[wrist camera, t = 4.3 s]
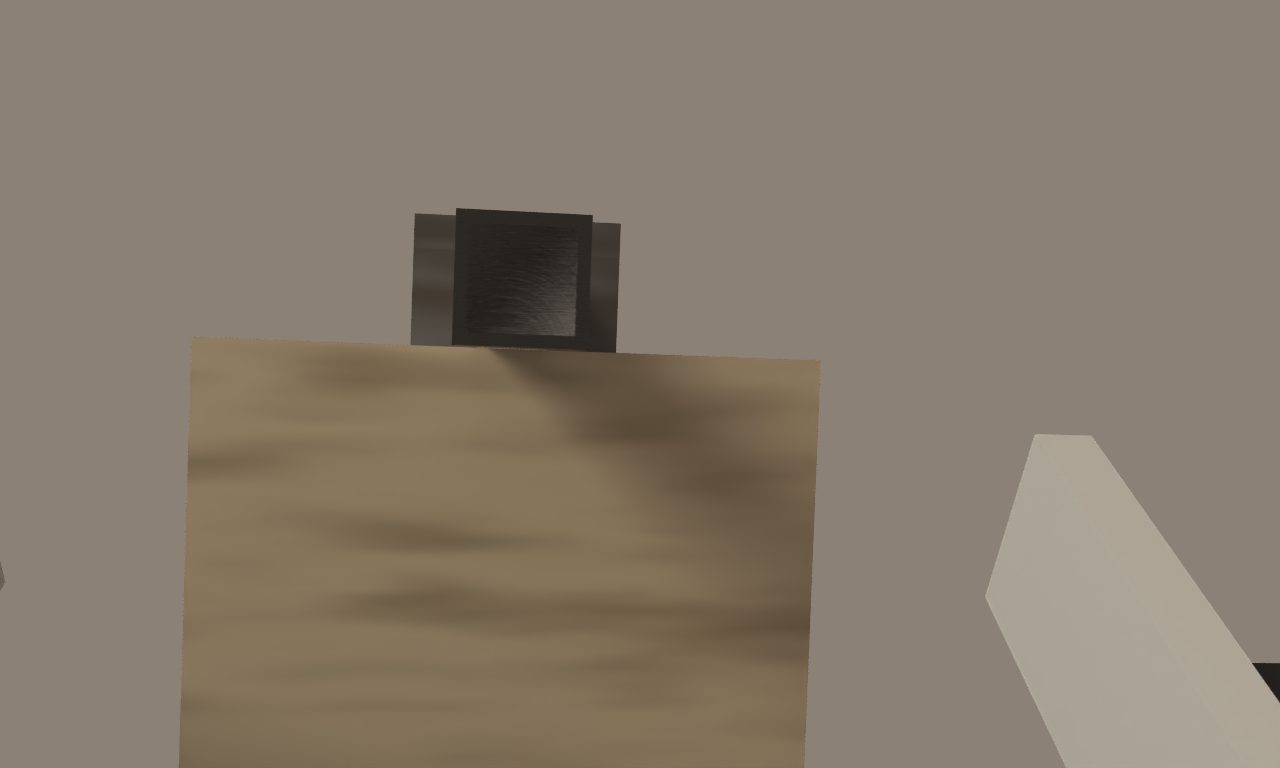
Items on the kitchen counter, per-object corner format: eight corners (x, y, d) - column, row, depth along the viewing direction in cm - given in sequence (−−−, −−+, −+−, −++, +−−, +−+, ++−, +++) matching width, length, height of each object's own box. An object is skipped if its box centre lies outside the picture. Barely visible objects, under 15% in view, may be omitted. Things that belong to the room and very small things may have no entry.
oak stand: (780, 1345, 41) (826, 220, 40) (160, 1379, 38) (195, 188, 38) (689, 1019, 60) (718, 264, 60) (277, 1029, 58) (302, 245, 57)
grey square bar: (587, 350, 27) (592, 215, 27) (451, 344, 27) (456, 208, 27) (543, 351, 57) (546, 287, 57) (479, 349, 56) (481, 284, 56)
